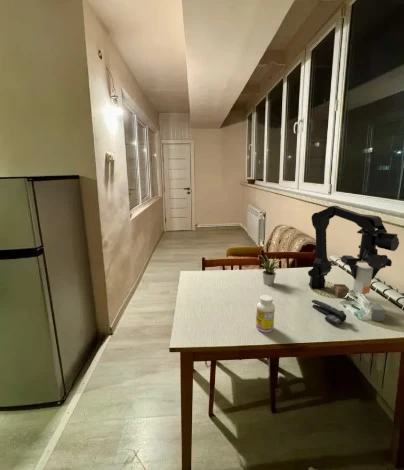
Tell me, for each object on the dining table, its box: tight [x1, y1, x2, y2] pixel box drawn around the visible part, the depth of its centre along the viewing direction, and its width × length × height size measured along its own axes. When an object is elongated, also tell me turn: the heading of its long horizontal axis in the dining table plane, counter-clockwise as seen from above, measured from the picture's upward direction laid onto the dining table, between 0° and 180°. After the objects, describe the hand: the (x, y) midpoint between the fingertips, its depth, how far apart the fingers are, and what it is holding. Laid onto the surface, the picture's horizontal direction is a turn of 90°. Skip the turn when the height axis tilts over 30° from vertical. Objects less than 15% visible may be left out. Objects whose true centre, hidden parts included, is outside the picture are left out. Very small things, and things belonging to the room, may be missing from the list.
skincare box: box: [352, 265, 373, 296], centre depth 117 cm, size 6×4×12 cm
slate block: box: [370, 303, 387, 322], centre depth 110 cm, size 5×5×5 cm
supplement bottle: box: [255, 294, 276, 333], centre depth 101 cm, size 7×7×13 cm
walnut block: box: [332, 283, 350, 299], centre depth 129 cm, size 5×5×5 cm
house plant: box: [256, 255, 283, 286], centre depth 143 cm, size 14×14×16 cm
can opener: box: [311, 299, 347, 326], centre depth 111 cm, size 18×7×6 cm, turn 16°
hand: (363, 279), depth 117 cm, fingers closed on skincare box, 7 cm apart
